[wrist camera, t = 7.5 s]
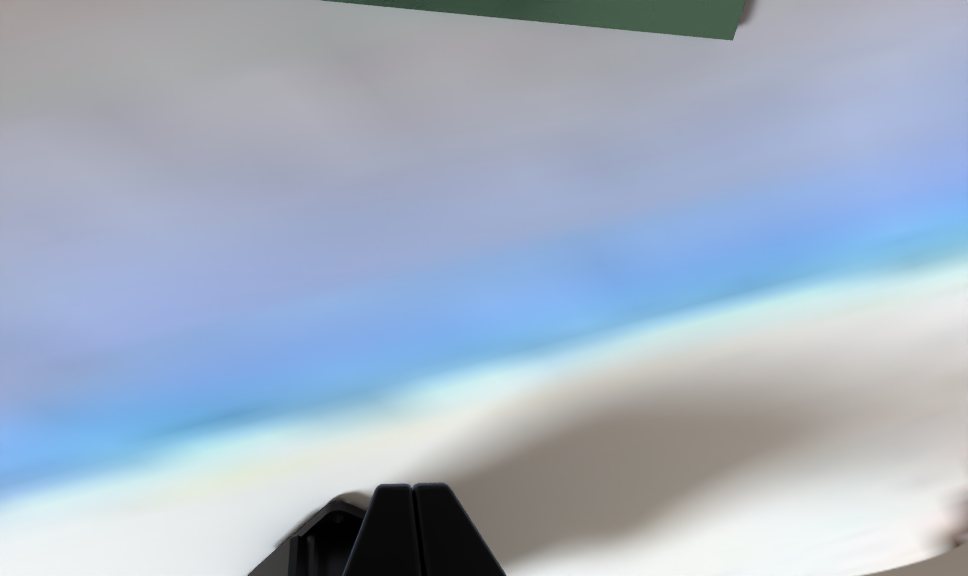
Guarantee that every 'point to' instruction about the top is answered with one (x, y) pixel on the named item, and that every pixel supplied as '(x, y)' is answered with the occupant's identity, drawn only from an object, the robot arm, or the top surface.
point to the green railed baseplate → (598, 13)
